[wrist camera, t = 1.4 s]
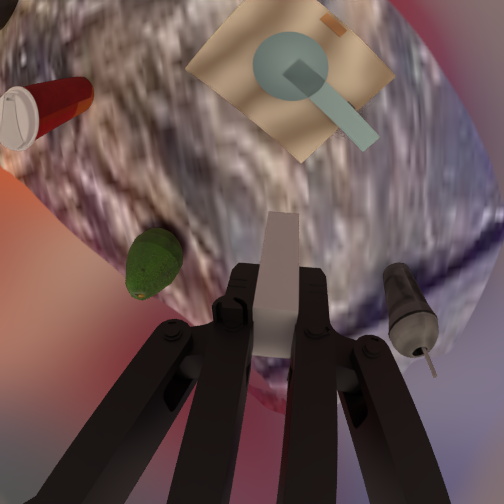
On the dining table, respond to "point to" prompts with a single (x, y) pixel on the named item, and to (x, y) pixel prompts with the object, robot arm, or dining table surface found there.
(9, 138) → the paper cup
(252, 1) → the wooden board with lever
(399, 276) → the beverage cup
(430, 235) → the dining table surface
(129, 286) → the avocado
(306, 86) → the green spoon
